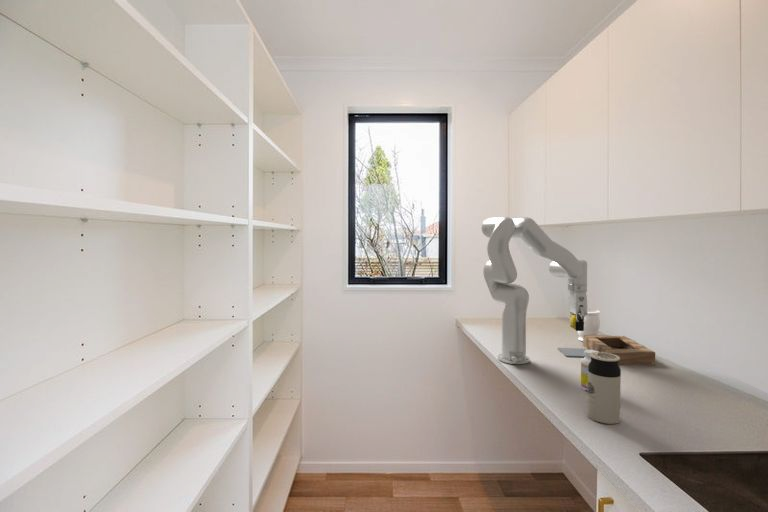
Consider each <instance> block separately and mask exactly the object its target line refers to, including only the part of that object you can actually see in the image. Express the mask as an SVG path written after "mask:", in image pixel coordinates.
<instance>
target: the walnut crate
mask: <svg viewBox="0 0 768 512" xmlns="http://www.w3.org/2000/svg"><path fill="white" fill-rule="evenodd" d="M582 346H583V347H584V348H585V347H586V348H585V349H587V350H595V351H599V352H605V353H611V354H614V355H617V356H619V357H620V360H619V362H618V365H635V364H640V365H641V366H655V365H656V351H653V350H651V349H650V348H649V347H646V346H644V345H642V344H640V343H638V342H637V341H635V340H633V339H632V338H629V337H627V336H625V335H609V334H608V335H607V334H605V335H603V334H598V335H583V341H582ZM617 347H623V348H617ZM640 365H639V366H640Z"/></svg>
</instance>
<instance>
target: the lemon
mask: <svg viewBox="0 0 768 512" xmlns="http://www.w3.org/2000/svg"><path fill="white" fill-rule="evenodd" d="M570 316H571V315H570ZM578 318H579V316H578ZM569 323H570V325H571V326H570V327H571V328H572V329H573V330H575V326H576V315H575V314H574V315H572V316H571V317H570V319H569Z"/></svg>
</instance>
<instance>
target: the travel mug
mask: <svg viewBox="0 0 768 512" xmlns="http://www.w3.org/2000/svg"><path fill="white" fill-rule="evenodd" d="M590 357H591V362H590V363H589V365H588V391H587V412H586V413H587V414H586V415H587V416H588V418H590V419H591V420H593V421H595V422H598V423H601V424H606V425H614V424H617V423H619V422H620V416H621V415H620V414H621V411H620V410H621V381H622V380H621V379H622V378H621V376H622V373H621V372H622V371H621V370H622V369H621V367H620V364H618V362H619V360H620V357H619V356H617V355H614V354H611V353H605V352H592V353H590Z"/></svg>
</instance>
